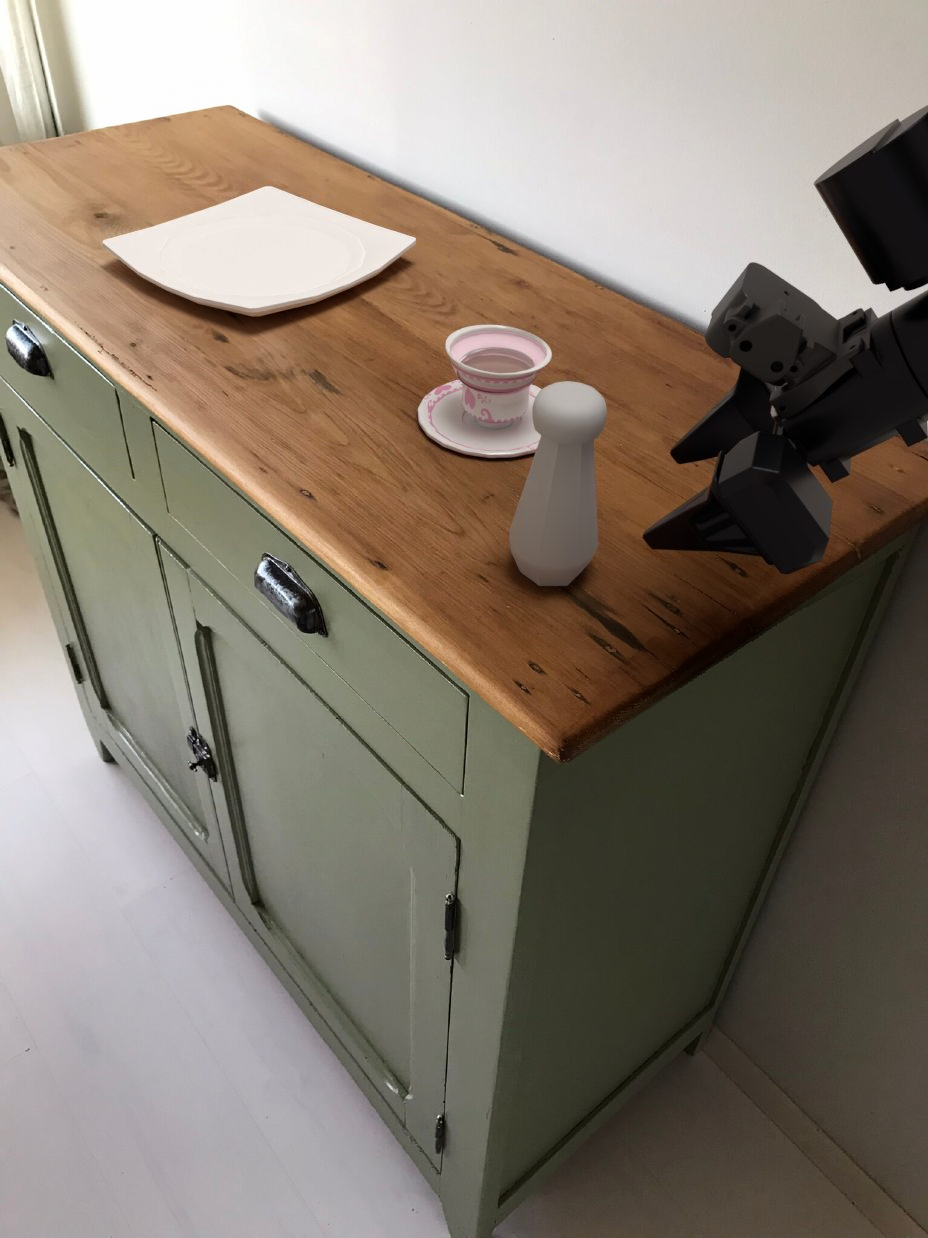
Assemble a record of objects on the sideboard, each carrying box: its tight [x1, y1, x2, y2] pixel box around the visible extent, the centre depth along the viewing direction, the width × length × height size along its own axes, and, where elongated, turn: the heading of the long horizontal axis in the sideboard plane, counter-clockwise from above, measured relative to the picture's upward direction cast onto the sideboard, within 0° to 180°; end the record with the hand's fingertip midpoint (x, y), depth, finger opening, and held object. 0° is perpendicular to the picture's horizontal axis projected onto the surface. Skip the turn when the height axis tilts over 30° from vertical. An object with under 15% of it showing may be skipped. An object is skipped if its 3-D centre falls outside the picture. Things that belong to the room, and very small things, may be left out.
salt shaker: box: [508, 380, 608, 587], centre depth 59 cm, size 6×6×13 cm
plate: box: [101, 185, 417, 317], centre depth 96 cm, size 24×24×3 cm
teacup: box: [417, 324, 553, 459], centre depth 75 cm, size 12×12×6 cm
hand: (661, 497), depth 57 cm, fingers open, 9 cm apart
